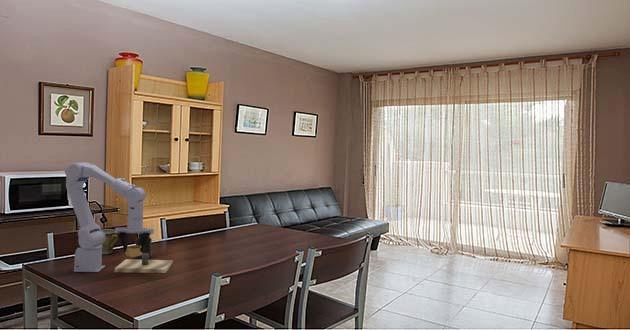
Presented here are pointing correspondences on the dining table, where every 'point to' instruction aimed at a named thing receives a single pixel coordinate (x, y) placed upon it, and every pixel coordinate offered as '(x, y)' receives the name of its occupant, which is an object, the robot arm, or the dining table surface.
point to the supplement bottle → (147, 246)
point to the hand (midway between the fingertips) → (134, 251)
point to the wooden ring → (133, 251)
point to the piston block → (144, 265)
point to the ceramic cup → (109, 241)
